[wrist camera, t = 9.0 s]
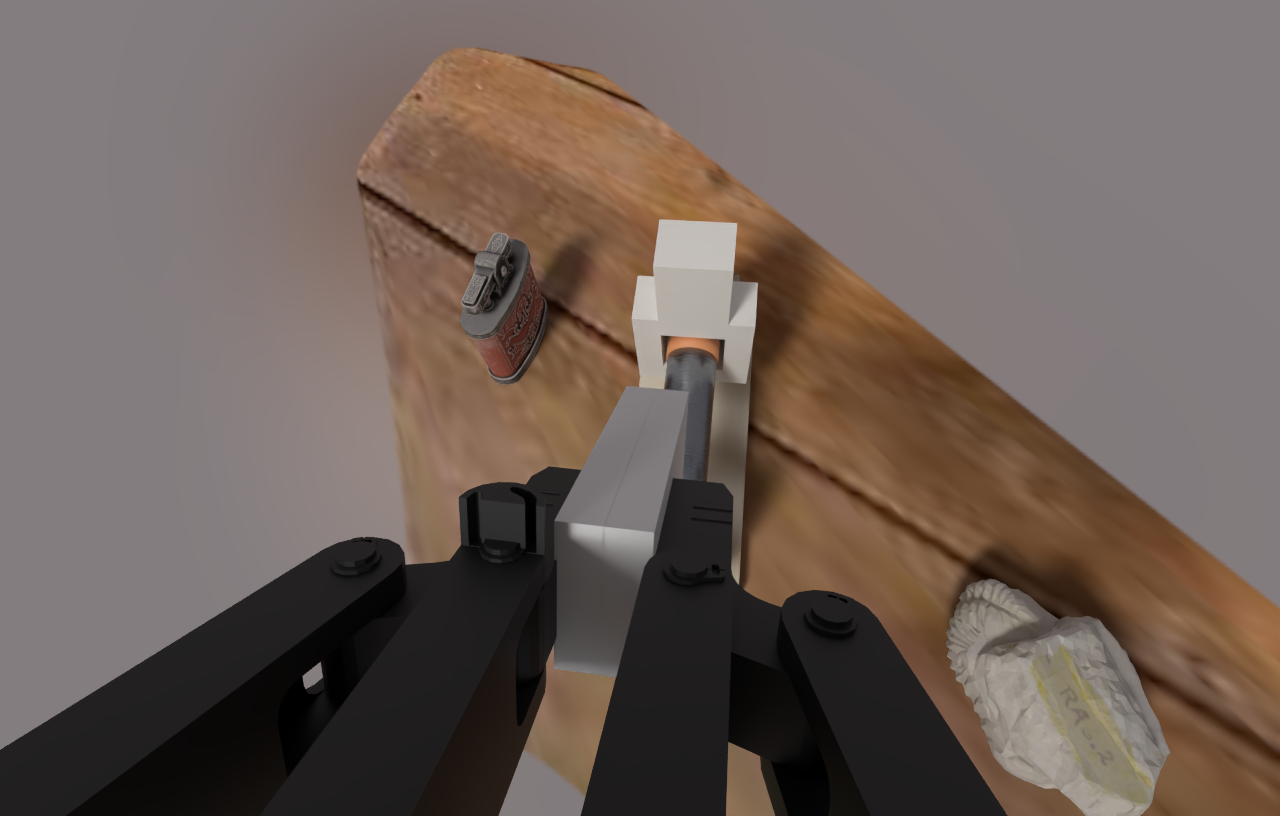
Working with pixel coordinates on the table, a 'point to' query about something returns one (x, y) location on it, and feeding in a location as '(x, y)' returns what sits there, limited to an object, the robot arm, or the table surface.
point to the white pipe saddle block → (695, 298)
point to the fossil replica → (1057, 700)
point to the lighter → (504, 309)
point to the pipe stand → (710, 421)
